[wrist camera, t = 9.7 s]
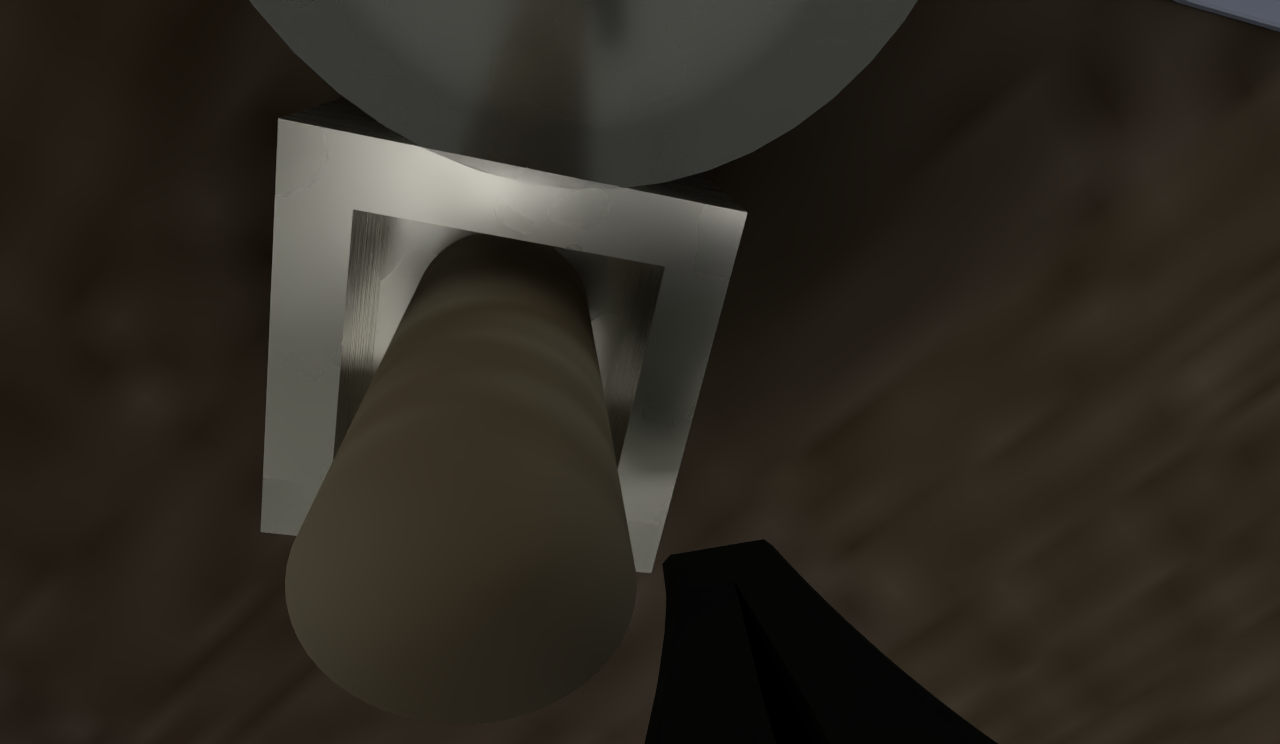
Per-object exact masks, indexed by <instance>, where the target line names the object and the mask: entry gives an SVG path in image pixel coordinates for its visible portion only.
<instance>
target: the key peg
mask: <svg viewBox="0 0 1280 744" xmlns="http://www.w3.org/2000/svg"><path fill="white" fill-rule="evenodd" d="M285 592H286V604H287V608H288V612H289V616H290V620H291V623H292V625H293V628H294V630H295V632H296V635H297V637H298V639H299V641H300V642H301V644H302V646H303V647H304V649H305V651H306V652H307V654H308V655H309V656H310V658H311V659H312V660H313V661H314V662H315V664H316V665H317V666H318V667H319V668H320V670H321V671H323V672H324V673H325V674H326V675H327V676H328V677H329V678H330V679H331V680H332V681H333V682H334V683H336V684H337V685H339V686H340V687H341V688H343V689H344V690H346V691H347V692H348V693H350V694H351V695H353V696H355V697H357V698H358V699H360V700H362V701H364V702H366V703H368V704H369V705H372V706H374V707H377V708H379V709H382V710H384V711H386V712H389V713H392V714H396V715H399V716H402V717H406V718H410V719H415V720H420V721H425V722H432V723H443V724H477V723H486V722H494V721H499V720H504V719H509V718H514V717H517V716H520V715H524V714H527V713H530V712H533V711H536V710H538V709H540V708H543V707H545V706H548V705H550V704H552V703H554V702H556V701H558V700H559V699H561V698H563V697H565V696H567V695H569V694H570V693H571V692H573V691H574V690H576V689H577V688H579V687H580V686H581V685H583V684H584V683H585V682H587V681H588V680H589V679H590V678H591V677H592V676H593V675H594V674H595V673H597V672H598V671H599V670H600V669H601V667H602V666H603V665H604V664H605V663H606V662H607V661H608V659H609V658H610V657H611V656H612V654H613V653H614V651H615V650H616V648H617V647H618V645H619V644H620V642H621V640H622V638H623V636H624V634H625V632H626V630H627V628H628V626H629V623H630V620H631V616H632V613H633V610H634V605H635V598H636V569H635V563H634V558H633V552H632V547H631V541H630V536H629V530H628V525H627V519H626V513H625V508H624V502H623V497H622V491H621V486H620V480H619V475H618V469H617V463H616V458H615V452H614V447H613V441H612V436H611V430H610V424H609V419H608V413H607V408H606V402H605V397H604V391H603V386H602V380H601V374H600V369H599V363H598V358H597V352H596V347H595V341H594V336H593V330H592V324H591V319H590V313H589V308H588V302H587V297H586V293H585V290H584V287H583V284H582V282H581V280H580V278H579V276H578V274H577V273H576V271H575V270H574V268H573V267H572V265H571V264H570V263H569V262H568V261H567V260H566V258H565V257H564V256H562V255H561V254H560V253H559V252H558V251H557V250H556V249H554V248H553V247H551V246H550V245H545V244H539V243H534V242H528V241H523V240H517V239H512V238H506V237H501V236H496V235H490V234H485V233H476V234H473V235H469V236H466V237H464V238H462V239H460V240H458V241H456V242H454V243H452V244H451V245H449V246H448V247H446V248H445V249H444V250H443V251H442V252H440V253H439V254H438V255H437V256H436V257H435V258H434V259H433V261H432V262H431V263H430V264H429V266H428V267H427V269H426V270H425V272H424V274H423V276H422V278H421V280H420V282H419V284H418V286H417V288H416V290H415V292H414V294H413V296H412V299H411V301H410V303H409V305H408V307H407V309H406V311H405V313H404V315H403V317H402V319H401V321H400V323H399V325H398V327H397V330H396V332H395V334H394V336H393V338H392V340H391V342H390V344H389V346H388V348H387V350H386V352H385V354H384V356H383V359H382V361H381V363H380V365H379V367H378V369H377V371H376V373H375V375H374V377H373V379H372V381H371V383H370V385H369V388H368V390H367V392H366V394H365V396H364V398H363V400H362V402H361V404H360V406H359V408H358V410H357V412H356V414H355V416H354V419H353V421H352V423H351V425H350V427H349V429H348V431H347V433H346V435H345V437H344V439H343V441H342V443H341V445H340V448H339V450H338V452H337V454H336V456H335V458H334V460H333V462H332V464H331V466H330V468H329V470H328V472H327V474H326V477H325V479H324V481H323V483H322V485H321V487H320V489H319V491H318V493H317V495H316V497H315V499H314V501H313V503H312V505H311V508H310V510H309V512H308V514H307V516H306V518H305V520H304V522H303V524H302V526H301V528H300V530H299V533H298V535H297V537H296V539H295V541H294V543H293V545H292V548H291V552H290V556H289V559H288V563H287V569H286V578H285Z"/></svg>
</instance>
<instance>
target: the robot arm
mask: <svg viewBox="0 0 1280 744" xmlns="http://www.w3.org/2000/svg"><path fill="white" fill-rule="evenodd" d="M1173 1H1175V2H1177V3H1181V4H1184V5H1188V6H1191V7H1195V8H1198V9H1202V10H1205V11H1209V12H1212V13H1216V14H1219V15H1223V16H1226V17H1230V18H1233V19H1237V20H1240V21H1244V22H1247V23H1251V24H1254V25H1258V26H1261V27H1265V28H1268V29H1272V30H1275V31H1279V32H1280V0H1173ZM663 572H664V580H665V588H666V620H665V634H664V641H663V648H662V656H661V663H660V670H659V677H658V683H657V689H656V694H655V698H654V703H653V708H652V712H651V717H650V721H649V726H648V731H647V735H646V740H645V744H998V743H996V742H995V741H993V740H992V739H991V738H989V737H988V736H986V735H985V734H983V733H982V732H981V731H979V730H978V729H977V728H975V727H974V726H973V725H971V724H970V723H968V722H967V721H966V720H964V719H963V718H962V717H960V716H959V715H958V714H956V713H955V712H954V711H953V710H951V709H950V708H949V707H947V706H946V705H945V704H943V703H942V702H941V701H940V700H938V699H937V698H936V697H935V696H933V695H932V694H931V693H930V692H928V691H927V690H926V689H925V688H923V687H922V686H921V685H920V684H919V683H917V682H916V681H915V680H914V679H912V678H911V677H910V676H909V675H907V674H906V673H905V672H904V671H903V670H901V669H900V668H899V667H898V666H897V665H896V664H894V663H893V662H892V661H891V660H890V659H889V658H887V657H886V656H885V655H884V654H883V653H882V652H880V651H879V650H878V649H877V648H876V647H875V646H874V645H873V644H872V643H870V642H869V641H868V640H867V639H866V638H865V637H864V636H863V635H862V634H861V633H859V632H858V631H857V630H856V629H855V628H854V627H853V626H852V625H851V624H849V623H848V622H847V621H846V620H845V619H844V618H843V617H842V616H841V615H840V614H839V613H838V612H837V611H836V610H835V609H833V608H832V607H831V606H830V605H829V604H828V603H827V602H826V601H825V600H824V599H823V598H822V597H821V596H820V595H819V594H818V593H817V592H816V591H815V590H814V589H813V588H812V587H811V586H810V585H809V584H808V583H807V582H806V581H805V580H804V579H803V578H802V577H801V576H800V575H799V574H798V573H797V571H796V570H795V569H794V568H793V567H792V566H791V565H790V564H789V563H788V562H787V561H786V560H785V559H784V558H783V557H782V556H781V554H780V553H779V552H778V551H777V550H776V549H775V548H774V547H773V546H772V545H771V544H770V543H768V542H767V541H765V540H764V539H763V540H757V541H751V542H745V543H739V544H733V545H727V546H721V547H715V548H709V549H703V550H697V551H691V552H685V553H680V554H674V555H670V556H669V557H668V558H667V559H666V561H665V562H664V563H663Z"/></svg>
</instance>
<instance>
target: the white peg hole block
mask: <svg viewBox="0 0 1280 744" xmlns="http://www.w3.org/2000/svg"><path fill="white" fill-rule="evenodd" d="M917 1H918V0H250V2H251V3H252V5H253V6H254V7H255V8H256V9H257V11H258V12H259V13H260V14H261V15H262V16H263V17H264V19H265V20H266V21H267V22H268V23H269V24H270V25H271V27H272V28H273V29H274V30H275V31H276V32H277V33H278V35H279V36H280V37H281V38H282V39H283V40H284V41H285V43H286V44H287V45H288V46H289V47H290V48H291V49H292V51H293V52H294V53H295V54H296V55H297V56H298V57H300V58H301V59H302V60H303V61H304V62H305V63H306V64H307V65H308V66H309V67H310V68H312V69H313V70H314V71H315V72H316V73H317V74H318V75H319V76H320V77H321V78H322V79H324V80H325V81H326V82H327V83H328V84H329V85H330V86H331V87H332V88H333V89H335V90H336V91H337V92H338V93H339V94H341V95H342V96H343V98H340V99H337V100H333V101H330V102H327V103H324V104H321V105H318V106H315V107H312V108H309V109H306V110H303V111H300V112H296V113H293V114H290V115H287V116H284V117H281V118H278V139H277V162H276V186H275V209H274V233H273V256H272V280H271V303H270V327H269V350H268V374H267V397H266V421H265V444H264V468H263V491H262V515H261V532H266V533H276V534H285V535H295V536H297V535H298V533H299V530H300V528H301V526H302V524H303V522H304V520H305V518H306V516H307V514H308V512H309V510H310V508H311V505H312V503H313V501H314V499H315V497H316V495H317V493H318V491H319V489H320V487H321V485H322V483H323V481H324V479H325V477H326V474H327V472H328V470H329V468H330V466H331V464H332V462H333V460H334V458H335V456H336V454H337V452H338V450H339V448H340V445H341V443H342V441H343V439H344V437H345V435H346V433H347V431H348V429H349V427H350V425H351V423H352V421H353V419H354V416H355V414H356V412H357V410H358V408H359V406H360V404H361V402H362V400H363V398H364V396H365V394H366V392H367V390H368V388H369V385H370V383H371V381H372V379H373V377H374V375H375V373H376V371H377V369H378V367H379V365H380V363H381V361H382V359H383V356H384V354H385V352H386V350H387V348H388V346H389V344H390V342H391V340H392V338H393V336H394V334H395V332H396V330H397V327H398V325H399V323H400V321H401V319H402V317H403V315H404V313H405V311H406V309H407V307H408V305H409V303H410V301H411V299H412V296H413V294H414V292H415V290H416V288H417V286H418V284H419V282H420V280H421V278H422V276H423V274H424V272H425V270H426V269H427V267H428V266H429V264H430V263H431V262H432V261H433V259H434V258H435V257H436V256H437V255H438V254H439V253H440V252H442V251H443V250H444V249H445V248H446V247H448V246H449V245H451V244H452V243H454V242H456V241H458V240H460V239H462V238H464V237H466V236H469V235H473V234H476V233H485V234H490V235H496V236H501V237H506V238H512V239H517V240H523V241H528V242H534V243H539V244H545V245H550V246H551V247H553V248H554V249H556V250H557V251H558V252H559V253H560V254H561V255H562V256H564V257H565V258H566V260H567V261H568V262H569V263H570V264H571V265H572V267H573V268H574V270H575V271H576V273H577V274H578V276H579V278H580V280H581V282H582V284H583V287H584V290H585V293H586V297H587V302H588V308H589V313H590V319H591V324H592V330H593V336H594V341H595V347H596V352H597V358H598V363H599V369H600V374H601V380H602V386H603V391H604V397H605V402H606V408H607V413H608V419H609V424H610V430H611V436H612V441H613V447H614V452H615V458H616V463H617V469H618V475H619V480H620V486H621V491H622V497H623V502H624V508H625V513H626V519H627V525H628V530H629V536H630V541H631V547H632V552H633V558H634V563H635V569H636V571H637V572H646V573H651V572H652V568H653V564H654V561H655V557H656V553H657V549H658V546H659V542H660V538H661V534H662V531H663V527H664V523H665V519H666V516H667V512H668V508H669V504H670V501H671V497H672V493H673V489H674V486H675V482H676V478H677V475H678V471H679V467H680V463H681V460H682V456H683V452H684V448H685V445H686V441H687V437H688V433H689V430H690V426H691V422H692V418H693V415H694V411H695V407H696V403H697V400H698V396H699V392H700V389H701V385H702V381H703V377H704V374H705V370H706V366H707V362H708V359H709V355H710V351H711V347H712V344H713V340H714V336H715V332H716V329H717V325H718V321H719V318H720V314H721V310H722V306H723V303H724V299H725V295H726V291H727V288H728V284H729V280H730V276H731V273H732V269H733V265H734V261H735V258H736V254H737V250H738V246H739V243H740V239H741V235H742V232H743V228H744V224H745V220H746V217H747V213H748V212H746V211H745V210H744V209H743V208H742V207H741V206H739V205H738V204H737V203H736V202H735V201H734V200H732V199H731V198H730V197H729V196H728V195H727V194H725V193H724V192H723V191H722V190H721V189H720V188H718V187H717V186H716V185H715V184H714V183H713V182H711V181H710V180H709V179H708V178H707V177H706V176H704V175H703V174H702V173H701V172H705V171H708V170H711V169H713V168H716V167H718V166H721V165H723V164H725V163H728V162H730V161H733V160H735V159H737V158H740V157H742V156H744V155H747V154H749V153H752V152H754V151H755V150H757V149H759V148H761V147H762V146H764V145H766V144H767V143H769V142H771V141H773V140H774V139H776V138H778V137H779V136H781V135H783V134H785V133H786V132H788V131H790V130H792V129H793V128H795V127H796V126H797V125H799V124H800V123H801V122H803V121H804V120H805V119H807V118H808V117H809V116H811V115H812V114H813V113H815V112H816V111H817V110H819V109H820V108H821V107H822V106H824V105H825V104H826V103H828V102H829V101H830V100H832V99H833V98H834V97H835V96H836V95H837V94H838V93H839V92H840V91H841V90H842V89H843V88H844V87H846V86H847V85H848V84H849V83H850V82H851V81H852V80H853V79H854V78H855V77H856V76H857V75H858V74H859V73H860V72H861V71H862V70H863V69H864V68H865V67H866V66H867V65H868V64H869V63H870V62H871V61H872V60H873V59H874V57H875V56H876V55H877V54H878V52H879V51H880V50H881V49H882V48H883V46H884V45H885V44H886V43H887V42H888V40H889V39H890V38H891V37H892V35H893V34H894V33H895V32H896V31H897V29H898V28H899V27H900V26H901V24H902V23H903V22H904V21H905V19H906V17H907V16H908V14H909V13H910V11H911V10H912V8H913V7H914V5H915V4H916V2H917Z"/></svg>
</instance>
